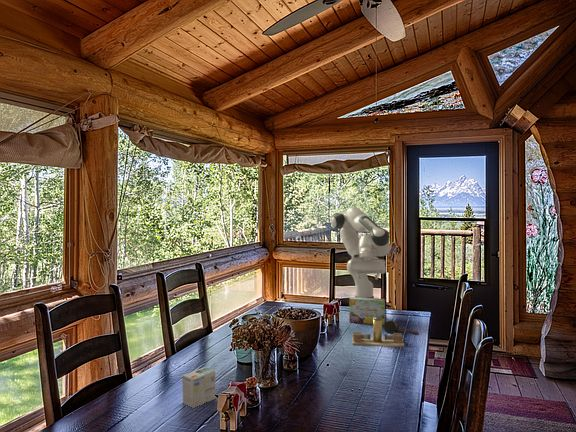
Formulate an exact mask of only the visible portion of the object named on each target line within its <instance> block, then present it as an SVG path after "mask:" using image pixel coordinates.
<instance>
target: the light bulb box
mask: <svg viewBox="0 0 576 432" xmlns="http://www.w3.org/2000/svg"><path fill="white" fill-rule="evenodd" d="M181 378H182V383H181V384H182V404H183V403H184V404H183V405H185V404H186V405H185V406H187V405H188V406H187V407H189V406H190V407H189V408H191V407H192V409H193V408H194V409H196V408H198V407H200V406H202V405H205V404H207V403H209V402H211V401H214V400H215V399H217V398H216V396H215V395H217V393H216V392H217V391H216V370H215V369H211V368H208V367H206V366H202V367H200V368H198V369H196V370H193V371H190V372H188V373H185V374H182V375H181ZM206 402H207V403H206ZM204 403H205V404H204ZM199 405H200V406H199ZM197 406H198V407H197ZM195 407H196V408H195Z"/></svg>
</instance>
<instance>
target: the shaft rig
mask: <svg viewBox="0 0 576 432" xmlns="http://www.w3.org/2000/svg"><path fill="white" fill-rule="evenodd" d="M352 333H353V336H352V338H351V340H352V342H351V343H352V345H353V346H373V347H374V346H377V347H378V346H379V347H405V343H404V341H403V338H404V337H403V334H402V333H401V332H394V333H393V334H387V333H384V338H383V337H382V342H374V341H373V337H371V333H364V334H363V333H362V332H361V331H352Z"/></svg>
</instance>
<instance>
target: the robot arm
mask: <svg viewBox="0 0 576 432" xmlns="http://www.w3.org/2000/svg"><path fill="white" fill-rule="evenodd" d="M330 222H331V225H332V227H333V228H334V229H337V230H340V231H339V235H340V238H341V241H342V244H343V246H344V247H345V249H346V252H347V254H348V255H349V256H350V257H351V259H349V260H348V261H347V262H346V269H347V272H348V274H350V275H351V276H352V278H353V281H354V285H355V295H354V297H360V298H375V297H374V284H373V282H372V281H371V280H369V277H368V275H370V274H372V275H373V274H374V278H375V279H374V280H379V276H380V274H382V275H384V274H385V273H386V271H387V269H386V268H387V267H386V264H387V263H386V260H385V259H383V257H386V256H388V255H389V254H390V251H391V244H390V233H389V231H388V230H386V229H385V228H383V227H381V226H379V225H378V224H377V223H376V222H375V221H374V220H373V219H372V218H370V217H369V216H368V215H367V214H366V213H365V212H363V210H361V209H360V208H359V207H357V206H351V207H349V208H347V210H343V211H340V212H336V213H333V214H332V216H331V218H330ZM357 232H358V233H364V232H368V233H369V234H363V235H361V237H359V235H358V233H357ZM378 257H382V258H378Z"/></svg>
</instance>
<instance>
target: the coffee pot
mask: <svg viewBox="0 0 576 432" xmlns="http://www.w3.org/2000/svg"><path fill="white" fill-rule="evenodd" d="M383 330H384V331H385V334H388V335H394V333H396V331H399V330H401V331H404V332H408V333H410V334H412V335H415V336H417V335H419V334H420V333H419V332H420V331H416V330H412V329H407V328H405V327H400V323H399V322H398V321H394V320H391V319H389V320H385V323H384V325H383Z"/></svg>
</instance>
